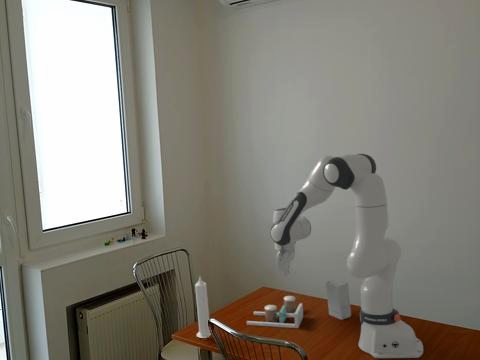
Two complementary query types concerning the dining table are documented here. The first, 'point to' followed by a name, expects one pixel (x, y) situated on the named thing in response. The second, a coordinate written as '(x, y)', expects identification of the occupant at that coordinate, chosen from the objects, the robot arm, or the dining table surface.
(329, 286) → the skincare box
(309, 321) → the dining table surface
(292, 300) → the jar
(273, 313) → the jar front
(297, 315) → the lane
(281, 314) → the plate
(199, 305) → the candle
